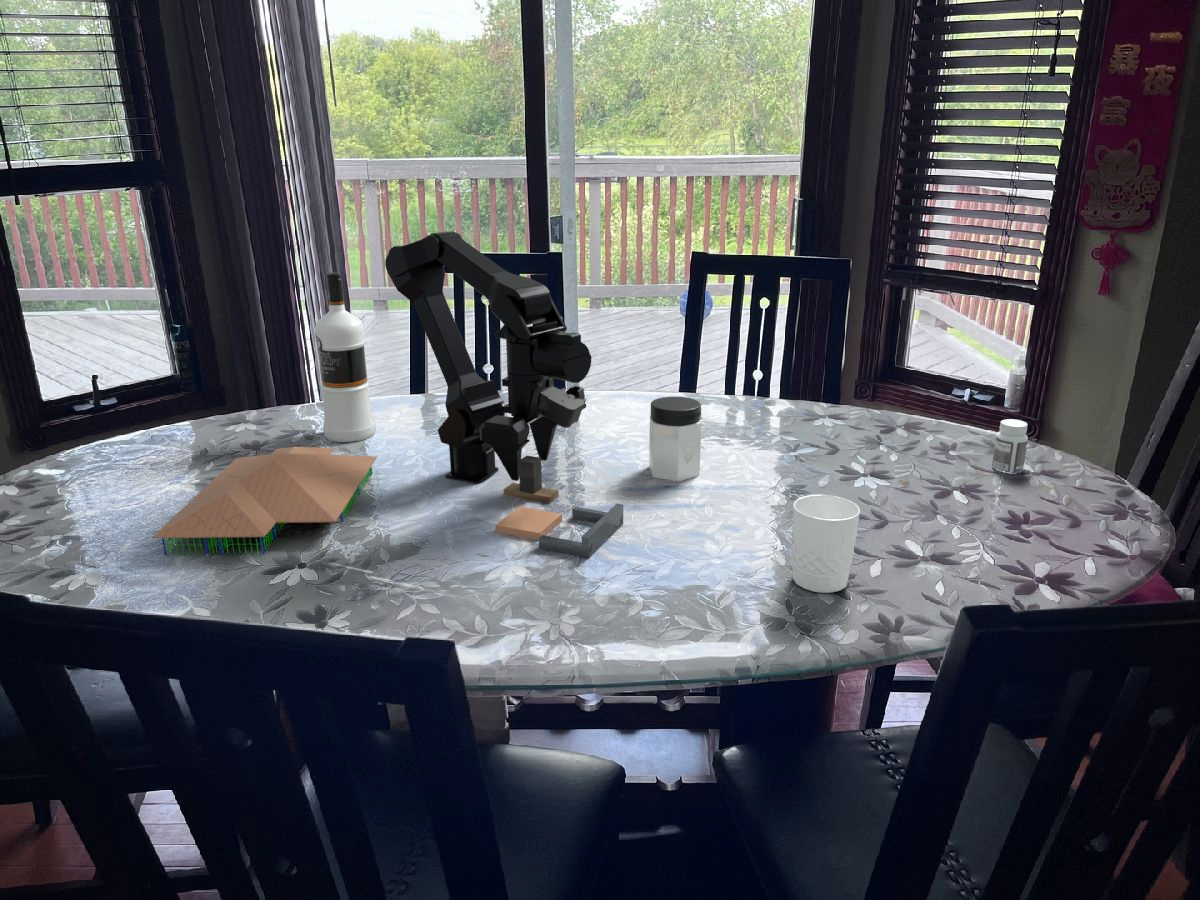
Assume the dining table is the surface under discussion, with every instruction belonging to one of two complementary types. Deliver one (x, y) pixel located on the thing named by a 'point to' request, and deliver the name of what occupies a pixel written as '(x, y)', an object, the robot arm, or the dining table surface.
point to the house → (270, 496)
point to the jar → (675, 438)
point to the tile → (528, 523)
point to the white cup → (823, 541)
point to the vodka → (343, 370)
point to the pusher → (531, 482)
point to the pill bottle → (1010, 446)
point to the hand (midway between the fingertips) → (529, 469)
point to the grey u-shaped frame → (593, 537)
